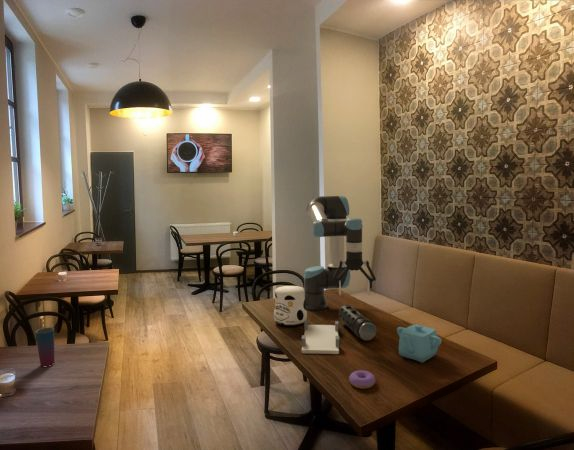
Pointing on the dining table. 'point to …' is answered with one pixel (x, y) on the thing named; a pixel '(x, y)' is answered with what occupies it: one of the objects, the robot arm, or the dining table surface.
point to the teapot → (418, 342)
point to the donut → (362, 379)
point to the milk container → (290, 305)
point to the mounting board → (320, 339)
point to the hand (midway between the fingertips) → (354, 294)
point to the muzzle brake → (357, 322)
